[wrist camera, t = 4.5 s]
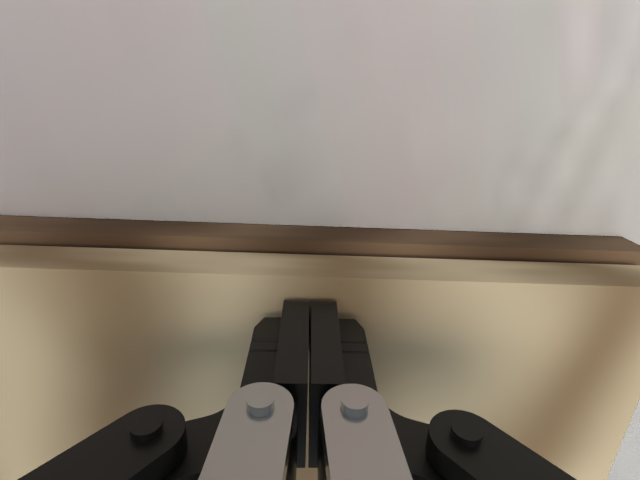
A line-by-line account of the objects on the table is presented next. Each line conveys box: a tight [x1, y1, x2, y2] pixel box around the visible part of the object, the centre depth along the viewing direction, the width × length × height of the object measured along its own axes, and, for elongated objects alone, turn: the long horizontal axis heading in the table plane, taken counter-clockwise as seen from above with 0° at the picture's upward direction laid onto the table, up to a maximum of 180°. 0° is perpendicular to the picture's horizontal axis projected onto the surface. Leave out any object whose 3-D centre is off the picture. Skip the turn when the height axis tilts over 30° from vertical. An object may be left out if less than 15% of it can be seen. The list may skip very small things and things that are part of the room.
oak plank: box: [0, 245, 640, 480], centre depth 14 cm, size 21×9×2 cm, turn 88°
